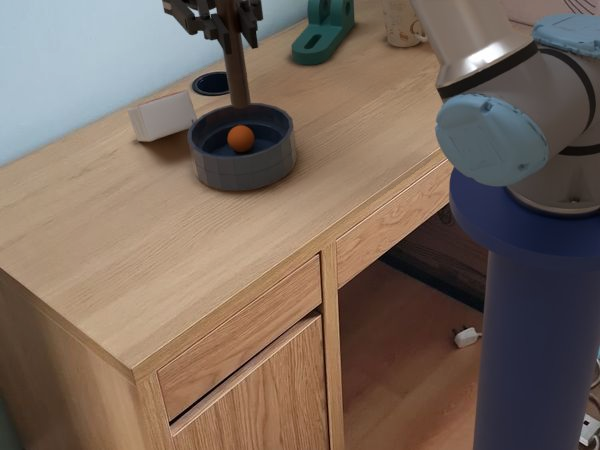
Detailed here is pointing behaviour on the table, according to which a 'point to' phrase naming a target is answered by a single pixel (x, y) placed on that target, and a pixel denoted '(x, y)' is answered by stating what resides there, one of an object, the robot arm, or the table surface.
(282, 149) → the bowl
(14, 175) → the table surface
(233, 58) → the stick
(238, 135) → the ball
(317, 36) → the bracket
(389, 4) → the mug
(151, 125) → the small box
